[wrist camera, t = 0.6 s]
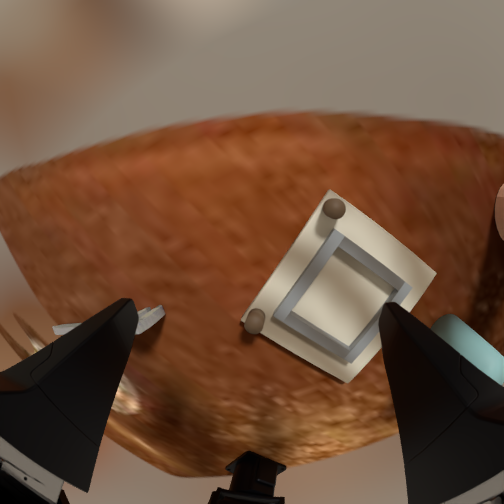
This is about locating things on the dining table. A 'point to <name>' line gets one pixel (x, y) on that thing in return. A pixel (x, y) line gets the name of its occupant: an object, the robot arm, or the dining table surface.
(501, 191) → the salt shaker
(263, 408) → the dining table surface
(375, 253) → the board
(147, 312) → the caliper
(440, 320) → the pin
